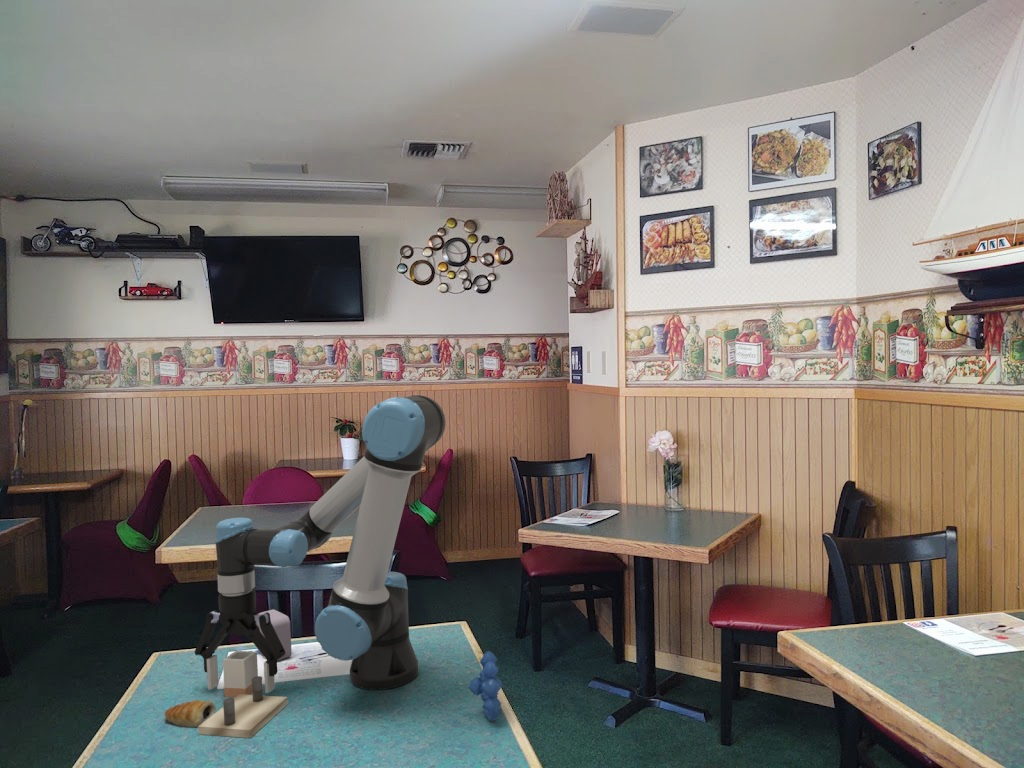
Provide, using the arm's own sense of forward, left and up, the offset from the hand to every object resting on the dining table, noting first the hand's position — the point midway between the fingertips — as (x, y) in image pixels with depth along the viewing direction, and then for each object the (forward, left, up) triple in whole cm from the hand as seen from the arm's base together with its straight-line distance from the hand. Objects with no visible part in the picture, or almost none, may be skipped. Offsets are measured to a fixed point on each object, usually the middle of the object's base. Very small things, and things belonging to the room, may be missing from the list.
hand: (241, 688), depth 161 cm
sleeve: (0, 0, -1) cm, 1 cm away
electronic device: (+4, -20, -1) cm, 20 cm away
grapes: (-55, +3, -1) cm, 56 cm away
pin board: (-8, +11, -1) cm, 13 cm away
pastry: (+3, +13, -1) cm, 13 cm away
